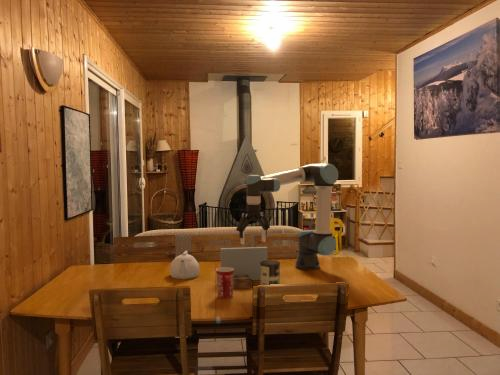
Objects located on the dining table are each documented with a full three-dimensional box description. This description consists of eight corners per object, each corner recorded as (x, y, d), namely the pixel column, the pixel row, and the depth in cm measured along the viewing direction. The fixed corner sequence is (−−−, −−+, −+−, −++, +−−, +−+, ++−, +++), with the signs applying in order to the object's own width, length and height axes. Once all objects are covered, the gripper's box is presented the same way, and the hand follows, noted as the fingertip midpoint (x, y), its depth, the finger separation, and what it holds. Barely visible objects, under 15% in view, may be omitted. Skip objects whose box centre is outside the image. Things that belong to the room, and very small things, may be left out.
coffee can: (281, 286, 229) (281, 260, 228) (278, 292, 219) (278, 265, 218) (261, 285, 231) (261, 259, 230) (258, 291, 221) (258, 264, 220)
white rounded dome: (207, 275, 252) (207, 252, 251) (182, 281, 238) (181, 257, 237) (187, 269, 264) (186, 247, 263) (162, 275, 251) (161, 252, 250)
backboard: (266, 278, 245) (266, 246, 244) (267, 279, 243) (267, 247, 242) (220, 280, 241) (220, 248, 240) (221, 281, 239) (221, 249, 238)
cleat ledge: (248, 280, 242) (248, 271, 241) (251, 287, 228) (251, 278, 227) (223, 281, 240) (222, 272, 239) (225, 288, 226) (225, 279, 225)
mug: (214, 293, 217) (214, 267, 216) (232, 292, 219) (232, 266, 218) (218, 302, 205) (217, 274, 204) (236, 300, 206) (236, 273, 206)
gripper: (268, 202, 242) (268, 239, 243) (229, 204, 229) (229, 244, 230) (276, 203, 236) (276, 241, 237) (237, 205, 222) (237, 246, 224)
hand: (253, 242), depth 234 cm, fingers open, 13 cm apart
